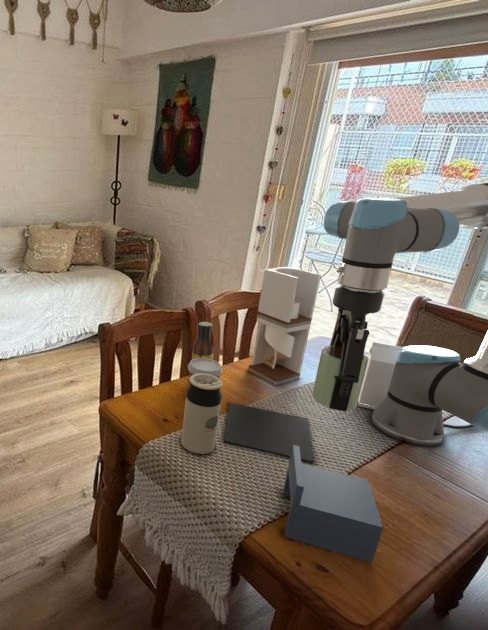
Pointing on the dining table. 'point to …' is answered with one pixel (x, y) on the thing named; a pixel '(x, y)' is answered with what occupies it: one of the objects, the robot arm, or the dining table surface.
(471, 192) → the robot arm
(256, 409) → the mat
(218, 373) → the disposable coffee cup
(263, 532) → the dining table surface
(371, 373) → the milk carton
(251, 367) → the white dispenser tower
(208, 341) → the sauce bottle
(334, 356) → the cup
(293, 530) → the blue l-shaped block
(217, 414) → the travel mug
